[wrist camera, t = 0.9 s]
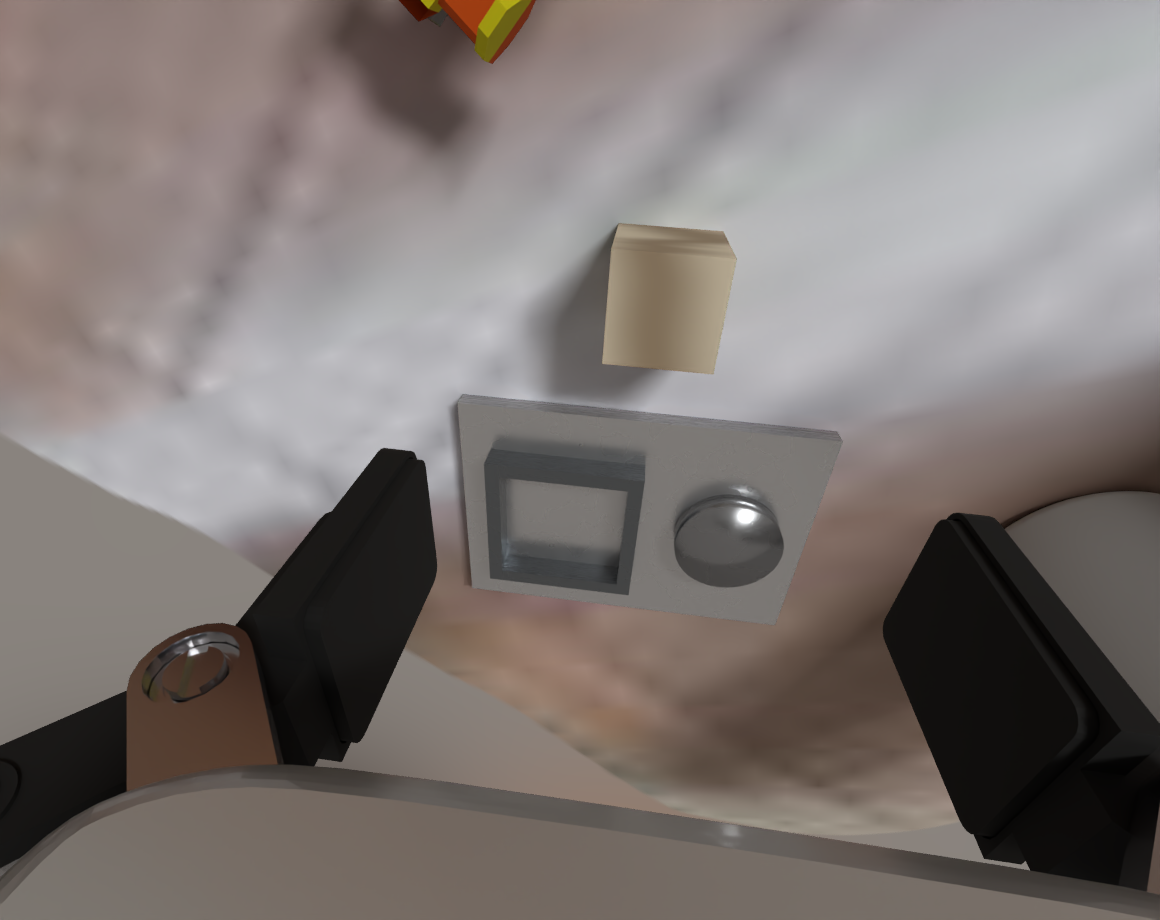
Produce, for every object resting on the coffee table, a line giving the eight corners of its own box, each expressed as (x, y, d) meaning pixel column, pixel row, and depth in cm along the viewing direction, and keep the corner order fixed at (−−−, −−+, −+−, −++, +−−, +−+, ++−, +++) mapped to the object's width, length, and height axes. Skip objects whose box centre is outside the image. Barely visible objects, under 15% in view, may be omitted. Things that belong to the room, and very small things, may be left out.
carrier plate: (837, 431, 29) (851, 457, 27) (772, 613, 37) (779, 644, 35) (462, 394, 30) (448, 416, 28) (476, 577, 38) (465, 605, 36)
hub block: (722, 231, 24) (736, 258, 20) (704, 331, 27) (713, 374, 23) (619, 222, 25) (611, 248, 21) (610, 322, 27) (602, 363, 23)
